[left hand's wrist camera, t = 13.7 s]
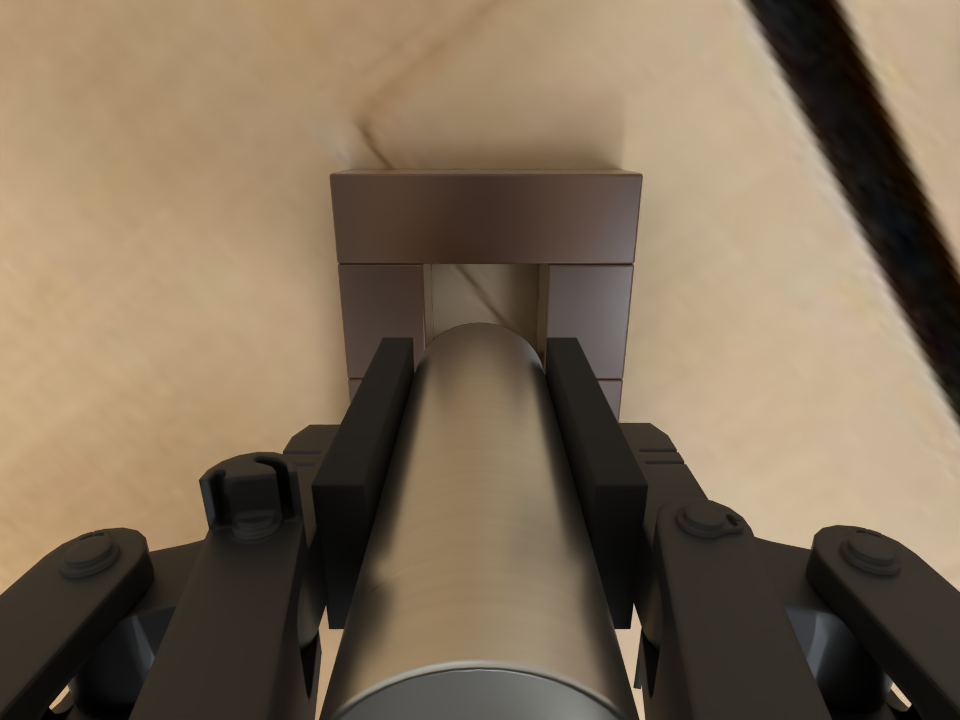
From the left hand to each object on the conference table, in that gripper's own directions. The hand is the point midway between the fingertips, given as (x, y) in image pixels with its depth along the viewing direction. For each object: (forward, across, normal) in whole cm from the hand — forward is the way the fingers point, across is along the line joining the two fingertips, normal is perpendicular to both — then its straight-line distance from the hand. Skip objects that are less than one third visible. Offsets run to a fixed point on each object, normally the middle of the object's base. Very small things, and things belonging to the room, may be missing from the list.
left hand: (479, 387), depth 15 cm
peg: (0, 0, 0) cm, 0 cm away
